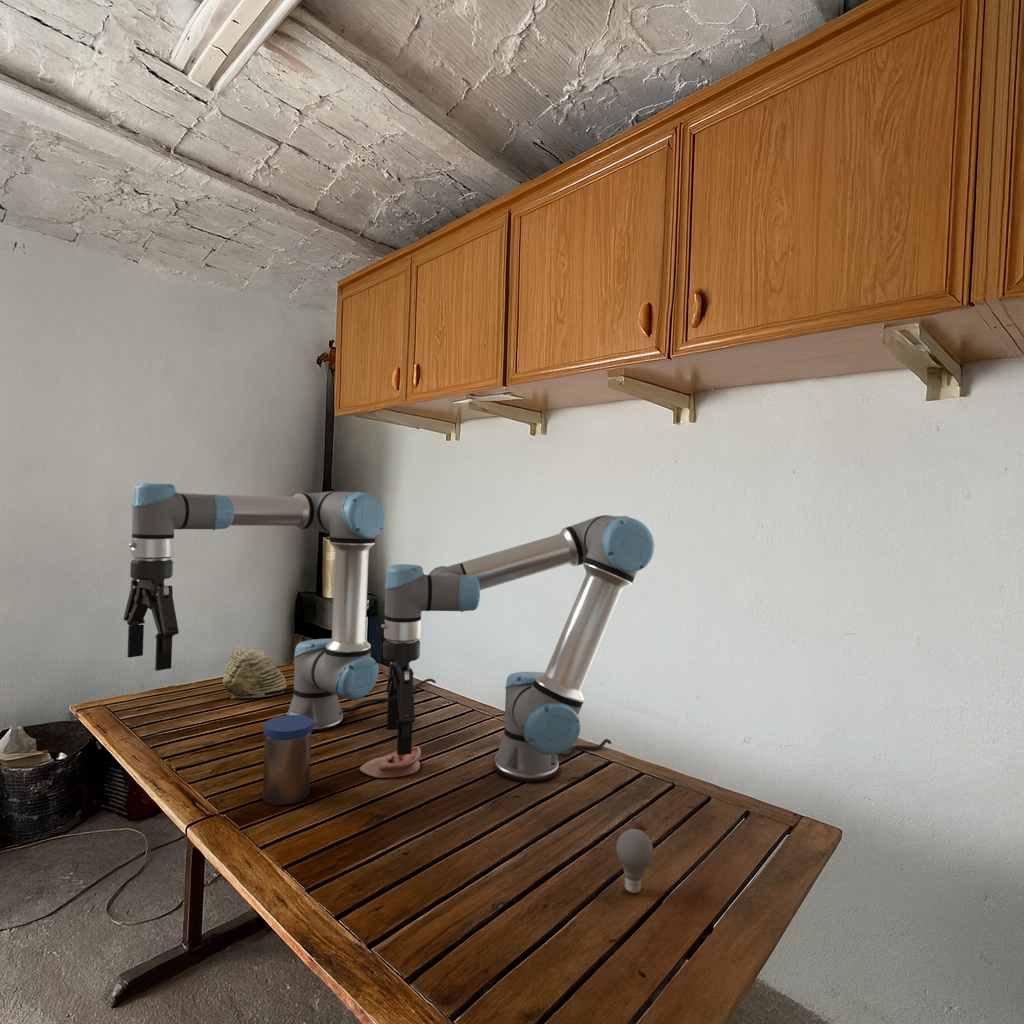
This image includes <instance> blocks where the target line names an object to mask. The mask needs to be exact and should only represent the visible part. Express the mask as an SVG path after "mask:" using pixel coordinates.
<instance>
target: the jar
mask: <svg viewBox="0 0 1024 1024" xmlns="http://www.w3.org/2000/svg"><path fill="white" fill-rule="evenodd" d="M263 749H264V750H263V772H262V773H263V775H262V776H263V777H262V779H263V780H262V800H263V802H265V803H267V804H270V805H273V806H287V805H293V804H296V803H299V802H301V801H303V800H305V799H306V798H308V796H309V795H310V782H311V755H312V754H311V752H312V732H311V733H310V734H308V735H306V736H304V737H300V738H296V739H289V740H277V739H271V738H268V737H266V736H265V735H264V747H263Z"/></svg>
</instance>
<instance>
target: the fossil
mask: <svg viewBox="0 0 1024 1024" xmlns="http://www.w3.org/2000/svg"><path fill="white" fill-rule="evenodd" d="M222 676H223V677H222V685H223V687H224V688H225V690H226V691H228V693H229V698H230V699H250V698H264V697H271V696H275V695H281V694H284V693H285V691H286V689H287V687H288V686H287V680H286V678H285V676H284V674H283V673H282V672H281V669H279V668H278V667H277V665H276V663H275V662H274V660H273V659H272V658H271V657H270V656H269V655H268V654H267V653H266V652H265V650H264V649H263V648H260V647H258V648H251V647H247V646H246V647H245V646H238V647H237V648H236V649H235V650H233V651H232V653H231V656H230V657H229V659H228V660H227V663H226V666H225V668H224V671H223V675H222Z"/></svg>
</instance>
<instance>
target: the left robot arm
mask: <svg viewBox="0 0 1024 1024" xmlns="http://www.w3.org/2000/svg"><path fill="white" fill-rule="evenodd" d="M385 515H386V513H385V511H384V508H383V505H382V503H381V502H380V501H379V500H378V498H377V497H375V495H373V494H370V493H367V492H363V491H362V492H361V491H337V490H336V491H335V490H333V491H332V490H330V491H321V492H311V493H295V494H294V495H293V496H276V495H275V496H274V495H273V496H272V495H248V494H247V495H246V494H244V495H243V494H220V493H219V494H218V493H217V494H216V493H215V494H214V493H189V492H187V493H186V492H177V491H176V486H175V485H174V484H173V483H152V482H139V483H137V484H136V485H135V486H134V488H133V492H132V501H131V520H132V521H131V542H130V543H128V547H129V548H130V549H131V550H130V556H131V558H133V559H132V560H131V561H130V567H129V568H130V571H129V574H130V575H129V576H130V578H131V581H130V590H129V594H128V598H127V603H126V607H125V610H124V615H123V621H124V622H126V624H127V626H128V629H127V630H128V631H127V658H135V657H142V656H144V635H145V634H144V630H145V625H144V624H145V623H146V621H145V619H144V618H145V616H146V615H147V612H148V609H149V610H151V613H152V618H153V620H154V624H155V627H156V631H157V633H156V635H155V636H154V638H155V661H154V663H155V665H154V668H155V669H154V670H155V671H157V672H159V671H164V670H169V669H172V659H173V657H172V655H173V637H175V636H176V635H179V632H180V631H179V625H178V619H177V615H176V614H177V613H176V609H175V603H174V597H173V595H174V593H173V585H165V580H167V579H171V578H172V577H173V575H174V573H173V572H174V561H173V560H172V559H171V558H173V557H174V554H175V553H174V552H175V530H213V531H215V530H224V529H228V528H230V526H233V527H234V526H237V527H238V526H240V527H243V526H246V527H247V526H249V527H250V526H258V527H259V526H268V527H269V526H276V527H277V526H282V527H284V526H285V527H286V526H287V527H288V526H289V527H290V526H291V527H293V528H294V529H296V530H308V531H309V530H310V531H316V532H319V533H325V534H329V544H330V545H331V546H332V547H333V548H334V550H335V551H334V572H333V573H334V577H333V599H332V625H331V626H332V627H331V638H317V639H308V640H304V641H300V642H299V643H297V645H296V646H295V650H294V655H293V657H294V672H293V673H294V674H293V695H292V696H293V697H292V699H291V702H290V704H289V708H288V711H287V713H286V715H302V716H307V717H310V718H311V719H313V731H312V732H311V733H316V732H325V731H329V730H332V729H335V728H337V727H339V726H340V725H342V723H343V722H344V714H343V711H344V712H345V711H353V710H355V709H356V708H359V707H360V706H362V705H365V704H369V703H373V702H374V703H375V702H386V701H387V702H388V699H390V698H388V697H379V698H370V699H365V700H362V701H359V702H358V703H356V704H355V705H352V706H350V707H349V706H348V707H347V706H346V707H345V706H344V707H343V706H341V702H340V699H339V698H341V699H342V700H343V699H344V700H348V701H349V700H350V701H357V700H360V699H362V698H364V697H365V696H367V695H368V694H370V692H371V690H372V689H374V687H375V685H376V683H377V682H378V678H379V674H380V672H379V671H380V670H379V669H380V668H379V665H378V663H377V662H376V660H375V659H374V657H371V652H372V649H371V648H372V644H371V643H370V642H368V640H367V639H366V631H367V607H368V606H367V605H368V604H367V602H368V582H369V581H368V579H369V555H370V553H369V552H370V550H371V548H372V547H374V545H375V544H376V536H378V535H379V534H380V533H381V530H383V528H384V526H385V522H386V521H385V520H386V516H385ZM428 682H432V683H433V684H437V681H436V680H435V679H433V678H426V679H424V680H422V681H420V682H418V683H416V684H414V685H413V693H414V691H416V689H417V688H418V687H420V686H422V685H423V684H425V683H428ZM397 699H398V698H397Z"/></svg>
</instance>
